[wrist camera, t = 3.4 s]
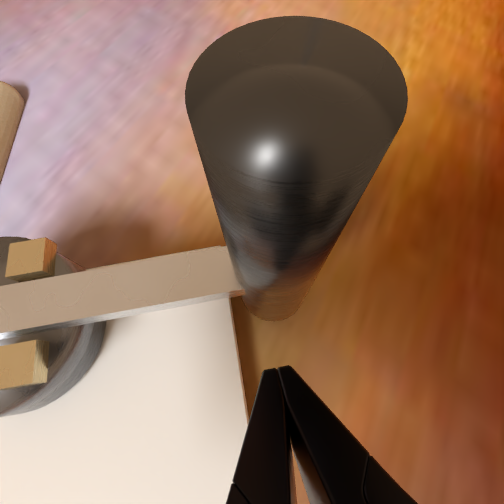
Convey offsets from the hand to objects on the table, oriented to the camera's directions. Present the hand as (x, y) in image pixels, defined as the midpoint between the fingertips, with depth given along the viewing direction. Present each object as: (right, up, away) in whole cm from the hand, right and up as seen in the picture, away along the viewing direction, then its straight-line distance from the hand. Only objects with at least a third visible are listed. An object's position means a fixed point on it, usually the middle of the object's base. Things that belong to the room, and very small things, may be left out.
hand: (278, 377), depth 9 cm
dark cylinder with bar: (-7, 0, +8) cm, 10 cm away
